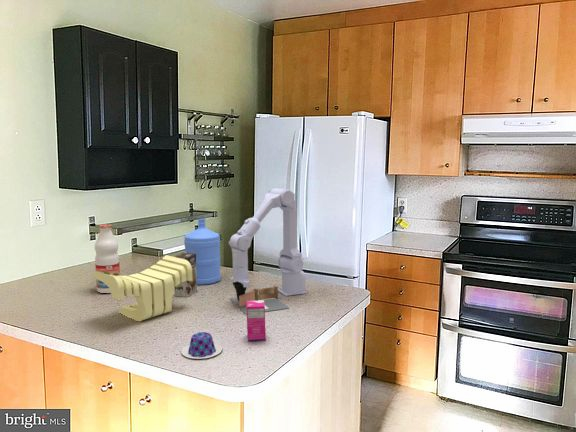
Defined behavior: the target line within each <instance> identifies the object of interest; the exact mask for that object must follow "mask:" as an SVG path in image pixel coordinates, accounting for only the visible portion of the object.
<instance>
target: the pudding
mask: <svg viewBox="0 0 576 432" xmlns="http://www.w3.org/2000/svg"><path fill="white" fill-rule="evenodd" d="M222 351H223V346H222V345H221V344H220V343H217V342H214V340H213V336H212V335H211V333H209V332H206V331H205V332H204V331H203V332H200V331H199V332H197V333H193V334H192V336H191V338H190V342H189V344H186V345H185V346H184V347H183V348H182V349H181V351H180V352H181V355H183V356H184V357H186V358H188V359H197V360H199V359H208V358H212V357H214V356H217V355H219V354H220V353H222Z"/></svg>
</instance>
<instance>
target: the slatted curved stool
mask: <svg viewBox="0 0 576 432" xmlns="http://www.w3.org/2000/svg"><path fill="white" fill-rule="evenodd" d="M93 279H95V280H96V279H97V280H100V281H102V282H103V283H105V284H106V285H107V286H108V287H109V289H110V291H111V294H110V295H111V297H112V299H114V300H117V301H122V300H123V299H125V298H127V297H132V296H134V298H135V300H136V302H134V303H132V304H129V305H125V306H122V307H120V308H119V311H118V314H119V313H121V314H123V315H122V316H124V315H125V316H124V317H126V316H127V317H126V318H129V319H131V318H132V319H131V320H133V319H134V321H137V322H142V321H144V320H149V319H150V318H154V317H157V316H161V315H163V314H167V313H170V312H172V311H173V310H172V309H173V308H172V307H173V305H172V304H173V297H174V286H175V287H177V285H179V284H180V282H184V281H186V280H187V281H193V278H192V267H191V264H190V263H189V262H188V261H187V260H185V259H180V258H176V256H170V255H167V254H166V255H165V256H163V257H162V258H161V259H159V260H158V261H157V262H156V263H155V264H153V265H151V266H150V267H149V268H146V269H143V270H142V271H139V272H138V273H137V272H136V273H133V274H129V275H120V276H114V275H108V274H104V273H101V272H98V271H96V269H95V270H93ZM121 314H120V315H121Z"/></svg>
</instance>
